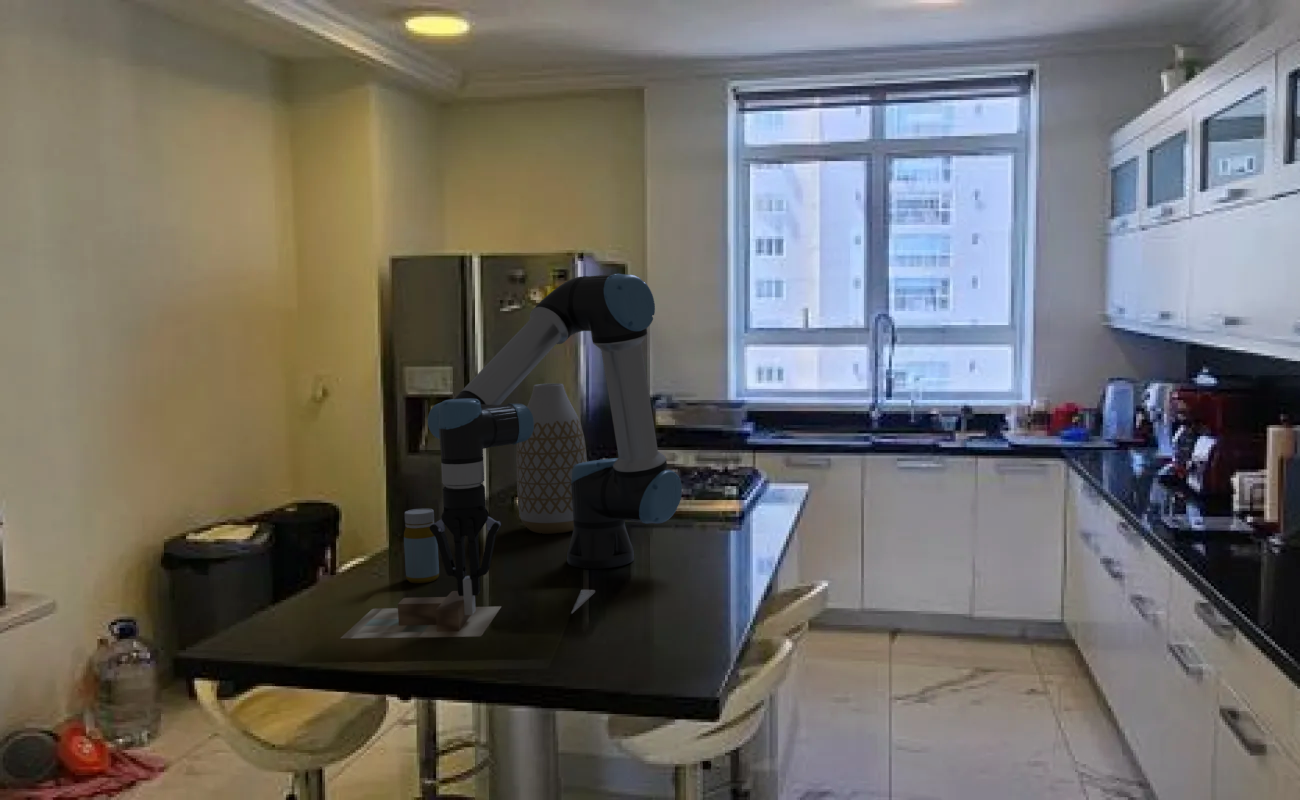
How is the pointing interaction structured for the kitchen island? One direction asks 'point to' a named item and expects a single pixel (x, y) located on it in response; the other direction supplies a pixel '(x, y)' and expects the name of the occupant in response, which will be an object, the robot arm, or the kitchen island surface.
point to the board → (387, 625)
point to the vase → (549, 462)
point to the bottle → (420, 547)
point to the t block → (434, 612)
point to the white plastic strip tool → (582, 598)
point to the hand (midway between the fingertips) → (470, 612)
